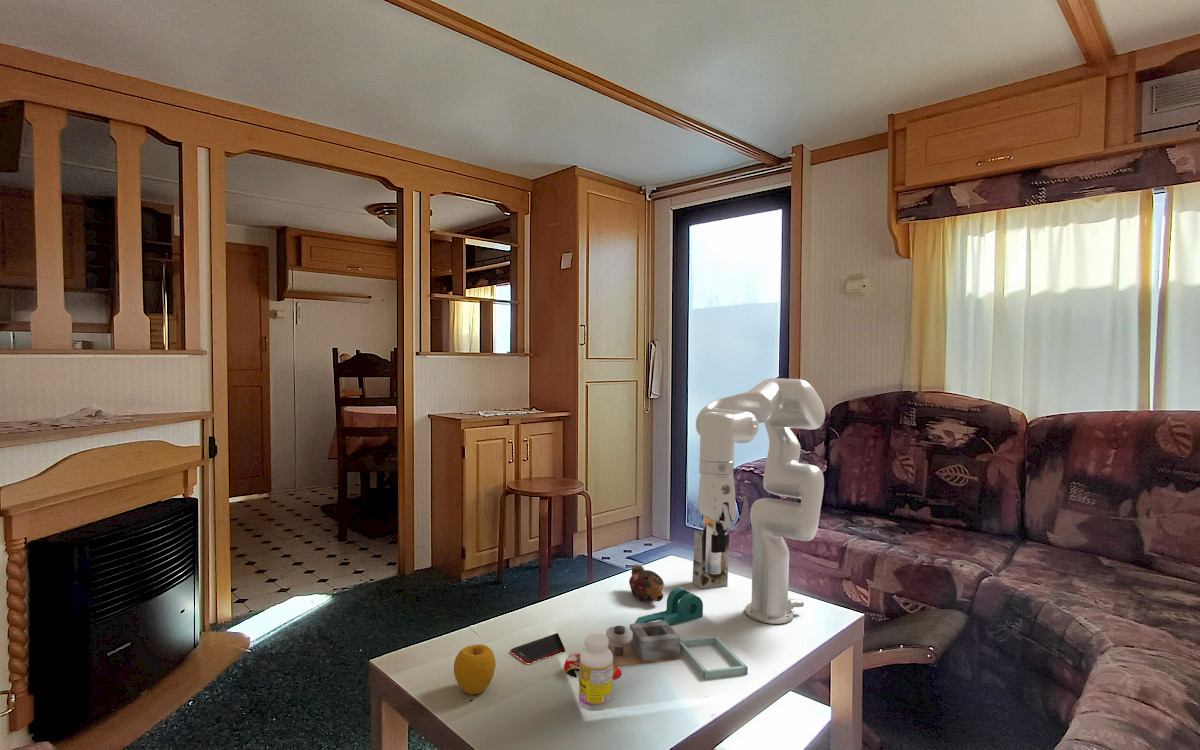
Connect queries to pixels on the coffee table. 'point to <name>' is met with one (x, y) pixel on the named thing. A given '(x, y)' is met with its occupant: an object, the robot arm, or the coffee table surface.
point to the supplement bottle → (595, 671)
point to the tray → (714, 673)
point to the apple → (474, 668)
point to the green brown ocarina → (646, 584)
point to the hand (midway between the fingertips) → (713, 548)
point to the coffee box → (699, 572)
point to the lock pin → (711, 558)
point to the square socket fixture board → (643, 644)
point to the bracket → (678, 608)
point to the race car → (574, 664)
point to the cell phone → (539, 648)
